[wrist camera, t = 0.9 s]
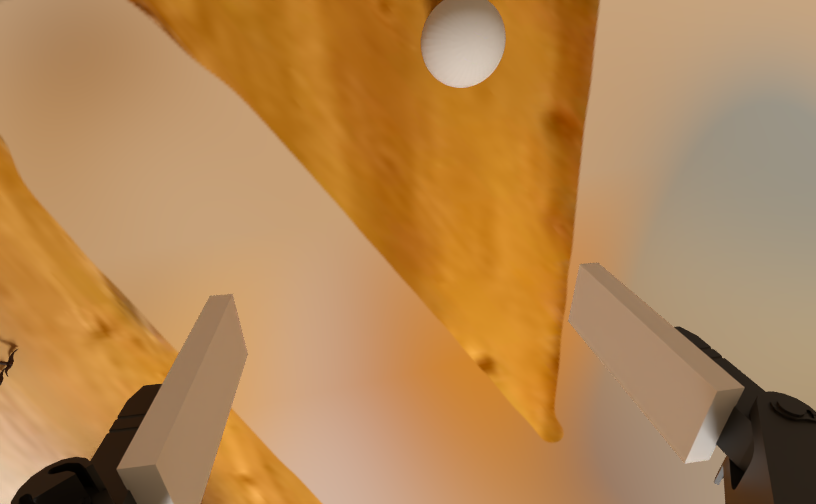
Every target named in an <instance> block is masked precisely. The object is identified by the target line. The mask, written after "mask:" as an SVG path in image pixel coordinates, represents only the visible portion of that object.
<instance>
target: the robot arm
mask: <svg viewBox="0 0 816 504" xmlns="http://www.w3.org/2000/svg"><path fill="white" fill-rule="evenodd" d="M568 321H569V323H570V324H571V325H572V326H573V328H574V329H575V330H576V331H577V332H578V334H579V335H580V336H581V337H582V339H583V340H584V341H585V342H586V343H587V345H588V346H589V347H590V348H591V350H592V351H593V352H594V353H595V354H596V356H597V357H598V358H599V359H600V361H601V362H602V363H603V364H604V366H605V367H606V368H607V369H608V370H609V372H610V373H611V374H612V375H613V377H614V378H615V379H616V380H617V381H618V383H619V384H620V385H621V386H622V388H623V389H624V390H625V391H626V393H627V394H628V395H629V396H630V397H631V399H632V400H633V401H634V402H635V404H636V405H637V406H638V407H639V408H640V410H641V411H642V412H643V413H644V415H645V416H646V417H647V418H648V419H649V421H650V422H651V423H652V424H653V426H654V427H655V428H656V429H657V431H658V432H659V433H660V434H661V435H662V437H663V438H664V439H665V440H666V442H667V443H668V444H669V445H670V446H671V447H672V449H673V450H674V451H675V453H676V454H677V455H678V456H679V457H680V459H681V460H682V461H683V462H684V463H692V462H698V461H705V460H709V459H710V457H711V455H712V453H713V451H714V449H715V447H716V445H718V446H719V447H720V449H721V450H722V451H723V452H725V454H726V455H727V456H726V458H725V460H724V462H723V463H722V465H721V467H720V469H719V471H718V473H717V475H716V477H715V481H714V483H715V484H718V485H719V483H720V481H721V479H723V478H724V488H725V504H816V412H815V411H814V410H813V409H812V408H811V407H810V406H808V405H806V404H805V403H803V402H802V401H800V400H798V399H796V398H794V397H791V396H788V395H786V394H782V393H778V392H765V391H764V390H763V389H762V388H760V387H759V386H758V385H757V384H755V383H754V382H753V381H752V380H751V379H749V378H748V377H747V376H746V375H745V374H743V373H742V372H741V371H740V370H738V369H737V368H736V367H735V366H733V365H732V364H731V363H730V362H729V361H727V360H726V359H725V358H722V356H721V355H720V354H719V353H718V352H716V351H715V350H714V349H711V347H710V346H709V345H708V344H707V343H705V342H704V341H703V340H702V339H701V338H699V337H698V336H697V335H695V334H693V333H691V332H689V331H687V330H685V329H683V328H681V327H673V326H672V325H670V324H669V323H668V322H667V321H666V320H665V319H664V318H662V317H661V316H660V315H659V314H658V313H656V312H655V311H654V310H653V309H652V308H651V307H649V306H648V305H647V304H646V303H645V302H644V301H642V300H641V299H640V298H639V297H638V296H637V295H635V294H634V293H633V292H632V291H631V290H629V289H628V288H627V287H626V286H625V285H624V284H623V283H621V282H620V281H619V280H618V279H617V278H615V277H614V276H613V275H612V274H611V273H610V272H608V271H607V270H606V269H605V268H604V267H602V266H601V265H600V264H599V263H588V264H580V266H579V271H578V276H577V281H576V285H575V290H574V295H573V301H572V306H571V310H570V315H569V320H568ZM247 355H248V353H247V349H246V346H245V341H244V337H243V333H242V330H241V325H240V321H239V318H238V314H237V310H236V306H235V302H234V298H233V294H227V295H216V296H210V297H209V299H208V301H207V302H206V304H205V306H204V308H203V310H202V312H201V314H200V315H199V317H198V319H197V321H196V323H195V325H194V327H193V328H192V330H191V332H190V334H189V336H188V338H187V340H186V341H185V343H184V345H183V347H182V349H181V351H180V352H179V354H178V356H177V358H176V360H175V362H174V364H173V365H172V367H171V369H170V371H169V373H168V375H167V377H166V378H165V380H164V382H163V384H155V385H146V386H143V387H142V388H141V389H140V390H139V391H137V392H136V393H135V394H134V395H133V396H132V397H131V398H130V399H129V400H128V401H127V402H126V404H125V405H124V407H123V409H122V410H121V412H120V414H119V415H118V419H117V420H115V422H114V423H113V425H112V427H111V428H110V430H109V431H110V432H109V433H108V434H107V435H106V436H105V438H104V440H103V441H102V443H101V445H100V446H99V448H98V449H97V451H96V453H95V454H94V456H93V458H92V459H91V461H89V460H88V459H87V458H80V457H73V458H68V459H63V460H60V461H58V462H56V463H53V464H51V465H49V466H47V467H45V468H44V469H42V470H41V471H39V472H38V473H36V474H35V475H33V476H32V477H31V478H30V479H29V480H28V481H27V482H26V483H25V484H24V485H22V486H21V487H20V488H19V490H18V491H17V493H16V495H15V496H14V498H13V499H12V501H11V504H201V501H202V498H203V495H204V492H205V488H206V485H207V482H208V479H209V476H210V473H211V469H212V466H213V463H214V460H215V457H216V454H217V450H218V447H219V444H220V441H221V438H222V434H223V431H224V428H225V425H226V422H227V419H228V415H229V412H230V409H231V406H232V403H233V399H234V396H235V393H236V390H237V386H238V384H239V380H240V377H241V374H242V371H243V368H244V365H245V361H246V358H247Z"/></svg>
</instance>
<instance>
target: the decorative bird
mask: <svg viewBox="0 0 816 504" xmlns="http://www.w3.org/2000/svg"><path fill="white" fill-rule="evenodd" d="M17 350H18V349H17ZM17 350H15V351H17ZM15 351H14V352H15ZM14 352H13V353H12V354H11V356H10V357H9V360H8V362H2V361H0V364H1V365H7V367H6V368H4V369H3V370H2V372H1V373H0V385H1V383H2V381H3V371H4V370H5V373H6V375H7V371H8V369H10V368H11V366H12V364H13V362H14V360H13V355H14ZM7 376H8V375H7Z"/></svg>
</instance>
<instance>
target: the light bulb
mask: <svg viewBox="0 0 816 504" xmlns="http://www.w3.org/2000/svg"><path fill="white" fill-rule="evenodd" d="M505 39H506V38H505V28H504V24H503V21H502V18H501V16H500V14H499V12H498V11H497V9H496V8H495V7H494V6H493V5H492V4H491V3H490V2H489V1H488V0H443V1H442V2H441V3H439V4H438V5H437V6H436V7H435V8H434V9H433V11H432V12H431V13H430V15H429V16H428V18H427V20H426V22H425V25H424V28H423V31H422V37H421V50H422V55H423V59H424V62H425V64H426V66H427V68H428V69H429V71H430V73H431V74H432V75H433V76H434V77H435V78H436V79H438V80H439V81H440V82H442V83H444V84H446V85H448V86H451V87H457V88H465V87H470V86H473V85H476V84H478V83H480V82H482V81H483V80H485V79H486V78H487V77H489V76H490V74H491V73H492V72H493V71H494V70H495V69H496V67H497V66H498V64H499V62H500V60H501V58H502V55H503V52H504V48H505Z"/></svg>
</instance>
